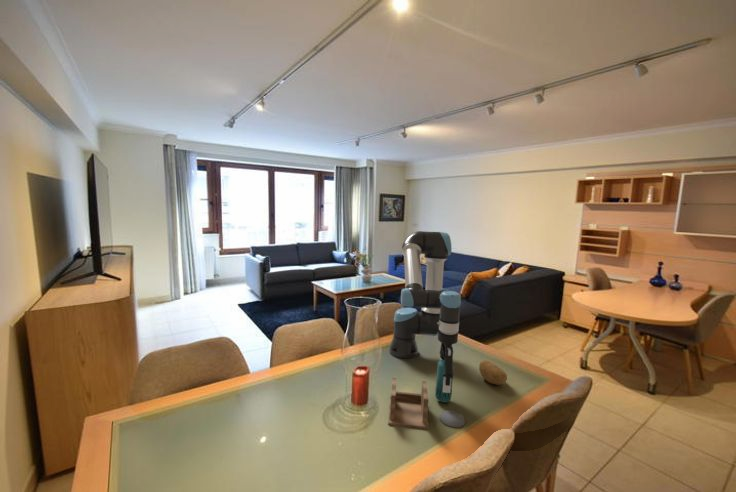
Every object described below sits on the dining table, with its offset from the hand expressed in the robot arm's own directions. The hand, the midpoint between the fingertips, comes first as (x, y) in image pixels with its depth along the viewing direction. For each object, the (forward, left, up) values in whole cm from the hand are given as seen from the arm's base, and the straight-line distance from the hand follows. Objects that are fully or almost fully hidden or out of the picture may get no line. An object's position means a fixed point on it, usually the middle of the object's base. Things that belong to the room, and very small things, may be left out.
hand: (444, 382), depth 127 cm
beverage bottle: (0, 0, -8) cm, 8 cm away
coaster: (+11, +2, -8) cm, 14 cm away
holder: (+10, -14, -8) cm, 19 cm away
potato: (-19, +24, -8) cm, 32 cm away
